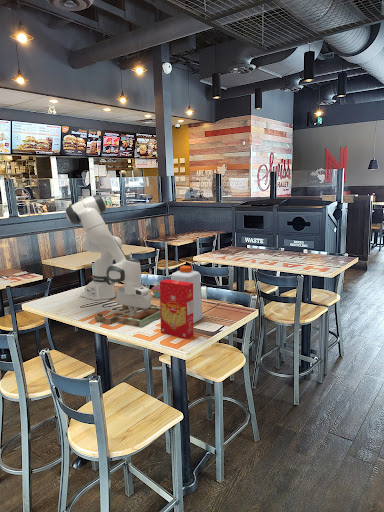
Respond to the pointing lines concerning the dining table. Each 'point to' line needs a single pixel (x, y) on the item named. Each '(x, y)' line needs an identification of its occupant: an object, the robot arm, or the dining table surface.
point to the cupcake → (156, 290)
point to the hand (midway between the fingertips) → (133, 314)
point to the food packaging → (176, 308)
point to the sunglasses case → (143, 314)
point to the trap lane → (129, 320)
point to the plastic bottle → (193, 277)
